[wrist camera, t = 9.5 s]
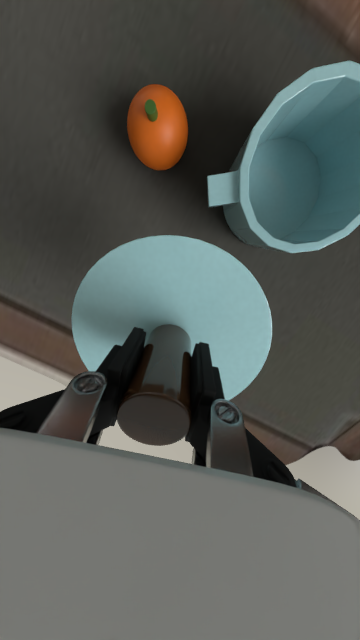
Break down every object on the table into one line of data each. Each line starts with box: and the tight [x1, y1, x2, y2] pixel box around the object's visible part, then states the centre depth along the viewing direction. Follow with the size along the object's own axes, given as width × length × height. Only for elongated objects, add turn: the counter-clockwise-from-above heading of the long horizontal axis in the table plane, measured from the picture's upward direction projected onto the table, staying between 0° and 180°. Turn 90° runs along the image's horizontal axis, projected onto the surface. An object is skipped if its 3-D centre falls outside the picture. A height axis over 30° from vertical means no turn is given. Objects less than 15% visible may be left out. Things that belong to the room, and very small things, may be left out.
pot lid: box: [72, 235, 272, 446], centre depth 11 cm, size 14×14×7 cm
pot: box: [207, 61, 360, 253], centre depth 20 cm, size 13×18×10 cm
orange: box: [127, 84, 188, 170], centre depth 19 cm, size 6×6×8 cm
